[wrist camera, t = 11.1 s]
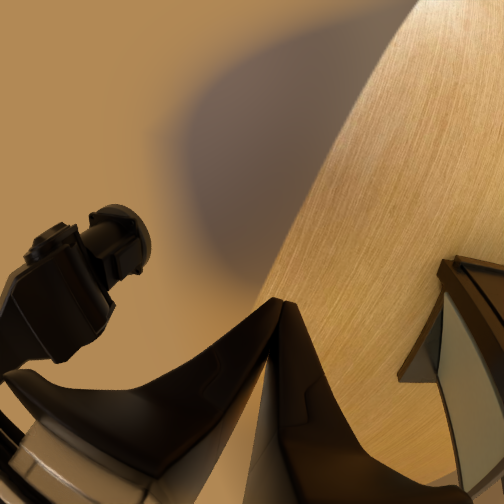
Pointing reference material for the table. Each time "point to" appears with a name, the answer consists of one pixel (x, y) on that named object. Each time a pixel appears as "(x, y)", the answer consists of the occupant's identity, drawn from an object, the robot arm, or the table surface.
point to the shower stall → (474, 314)
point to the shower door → (470, 405)
